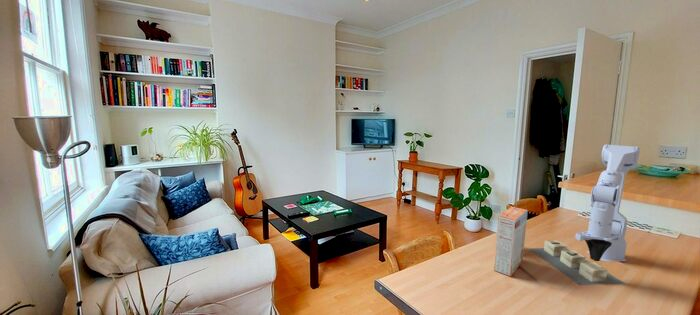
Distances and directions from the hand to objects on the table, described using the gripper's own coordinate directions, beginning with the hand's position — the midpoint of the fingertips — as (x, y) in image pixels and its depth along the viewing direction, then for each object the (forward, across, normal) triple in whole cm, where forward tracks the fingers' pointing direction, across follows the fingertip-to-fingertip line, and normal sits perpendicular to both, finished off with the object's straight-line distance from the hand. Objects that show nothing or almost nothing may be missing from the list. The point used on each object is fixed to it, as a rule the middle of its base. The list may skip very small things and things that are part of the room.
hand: (594, 259), depth 98 cm
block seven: (+6, 0, +9) cm, 11 cm away
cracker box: (+7, -24, +9) cm, 27 cm away
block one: (+6, 0, +17) cm, 18 cm away
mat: (+7, 0, +9) cm, 11 cm away
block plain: (+6, 0, 0) cm, 6 cm away
